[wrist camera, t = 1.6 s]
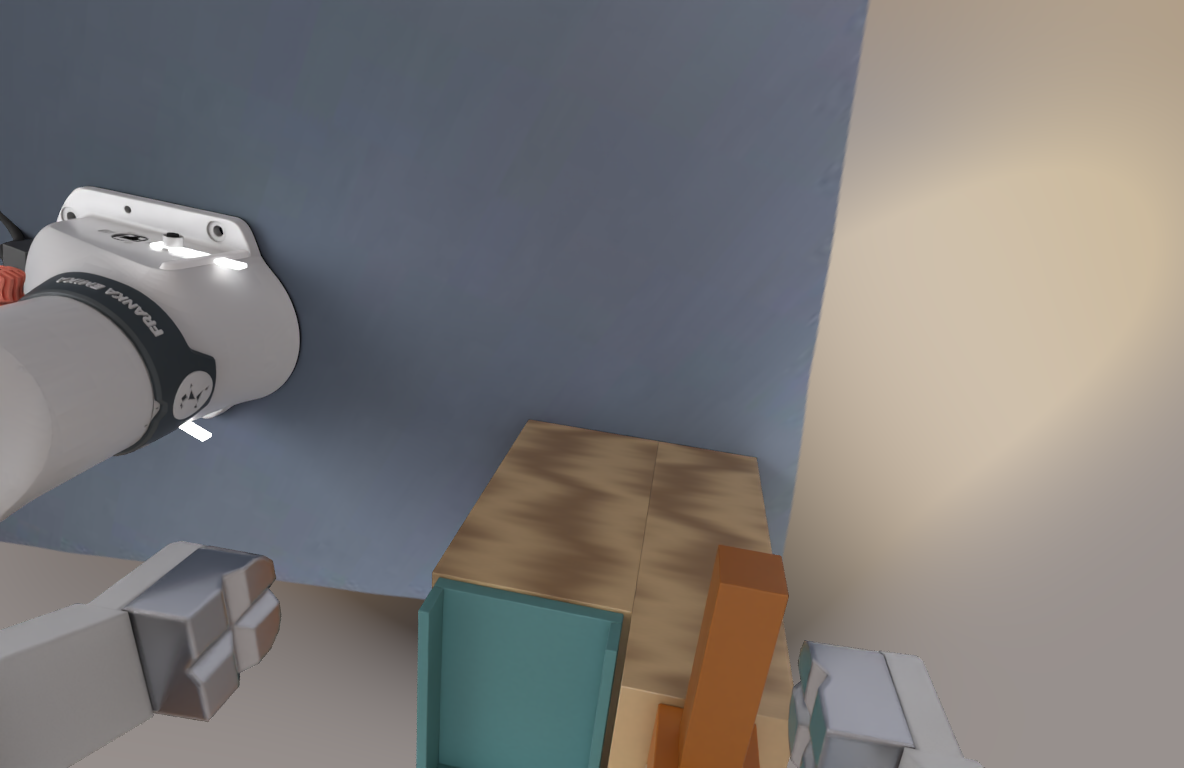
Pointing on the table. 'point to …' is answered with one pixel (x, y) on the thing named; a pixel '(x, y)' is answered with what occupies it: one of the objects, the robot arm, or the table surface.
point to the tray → (512, 679)
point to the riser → (624, 559)
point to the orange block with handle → (726, 667)
